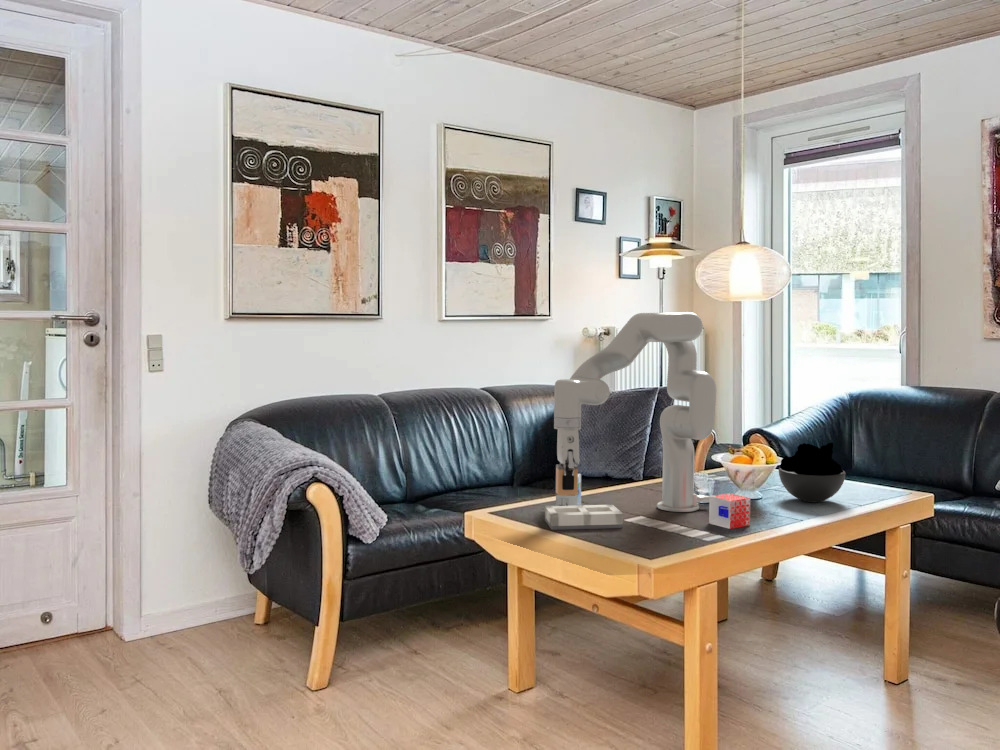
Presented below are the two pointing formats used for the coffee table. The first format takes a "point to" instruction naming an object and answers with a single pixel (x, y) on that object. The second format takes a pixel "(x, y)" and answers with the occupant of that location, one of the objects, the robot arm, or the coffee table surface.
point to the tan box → (559, 481)
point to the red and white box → (729, 510)
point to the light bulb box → (570, 497)
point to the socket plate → (583, 517)
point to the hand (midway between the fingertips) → (566, 487)
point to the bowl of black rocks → (811, 473)
